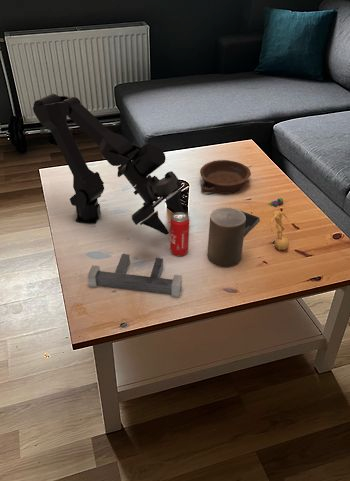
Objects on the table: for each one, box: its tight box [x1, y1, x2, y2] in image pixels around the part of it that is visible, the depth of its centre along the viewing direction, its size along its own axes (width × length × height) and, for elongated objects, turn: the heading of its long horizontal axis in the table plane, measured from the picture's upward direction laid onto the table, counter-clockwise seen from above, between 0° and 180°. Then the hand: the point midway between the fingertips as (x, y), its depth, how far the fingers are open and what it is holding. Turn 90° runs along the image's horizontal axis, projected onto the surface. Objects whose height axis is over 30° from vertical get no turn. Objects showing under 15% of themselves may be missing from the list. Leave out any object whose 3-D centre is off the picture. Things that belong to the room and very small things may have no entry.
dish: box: [199, 159, 252, 194], centre depth 168 cm, size 18×22×5 cm
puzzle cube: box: [268, 197, 284, 208], centre depth 158 cm, size 4×3×2 cm, turn 116°
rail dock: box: [87, 253, 183, 298], centre depth 128 cm, size 24×11×4 cm, turn 80°
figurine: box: [270, 210, 290, 251], centre depth 137 cm, size 8×6×12 cm
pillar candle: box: [206, 206, 246, 268], centre depth 132 cm, size 10×10×15 cm
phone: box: [240, 210, 260, 237], centre depth 148 cm, size 8×1×15 cm
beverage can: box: [169, 212, 190, 257], centre depth 135 cm, size 5×5×12 cm
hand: (176, 225), depth 133 cm, fingers open, 9 cm apart
